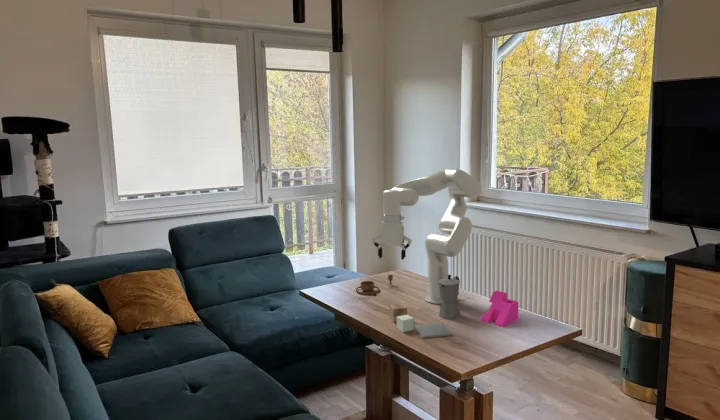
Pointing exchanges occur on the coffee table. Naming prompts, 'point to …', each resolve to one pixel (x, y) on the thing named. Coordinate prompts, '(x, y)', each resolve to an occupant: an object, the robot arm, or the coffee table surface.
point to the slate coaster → (432, 330)
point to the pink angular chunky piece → (501, 310)
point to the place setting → (371, 286)
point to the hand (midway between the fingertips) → (391, 258)
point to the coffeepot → (449, 297)
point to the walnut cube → (397, 311)
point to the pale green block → (405, 323)
